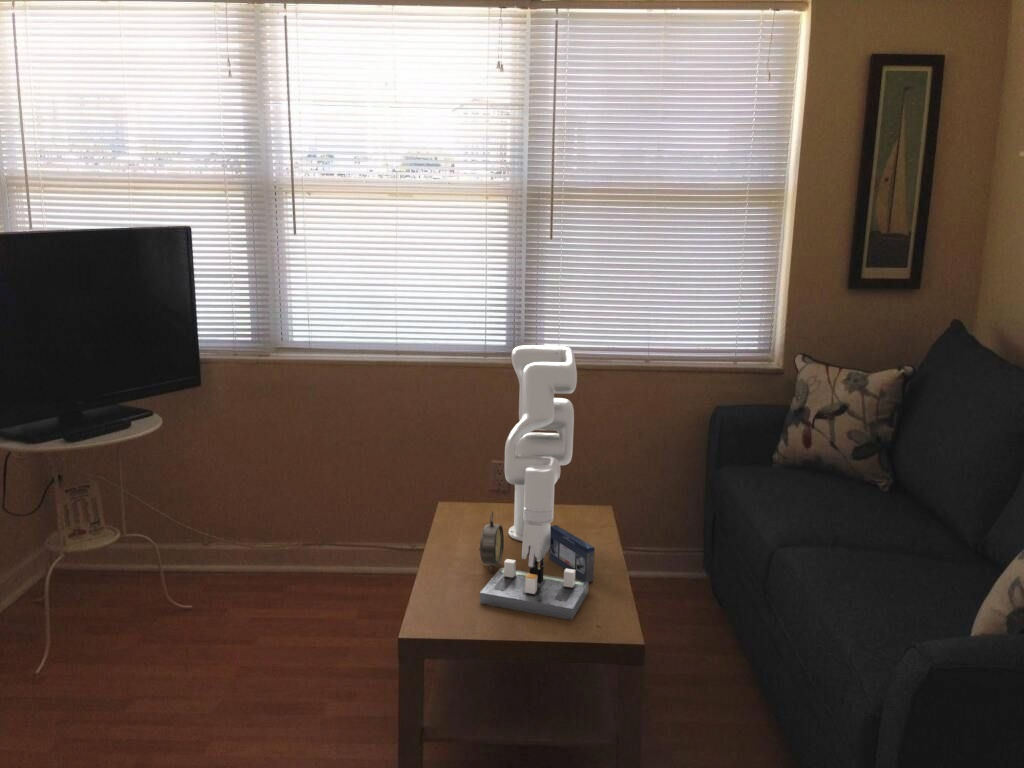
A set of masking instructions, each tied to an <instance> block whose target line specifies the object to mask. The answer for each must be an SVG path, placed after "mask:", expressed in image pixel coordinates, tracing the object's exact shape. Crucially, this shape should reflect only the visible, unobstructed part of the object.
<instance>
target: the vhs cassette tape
mask: <svg viewBox="0 0 1024 768" xmlns="http://www.w3.org/2000/svg"><path fill="white" fill-rule="evenodd" d="M550 527H551V535H550V548H549V550H548V559H549V560H550V561H551V562H553V563H554V564H556V565H557V566H559V567H560V568H562V569H563V570H565V569H566V568H567V569H573V570H575V578H577V580H578V579H579V581H585V582H590V583H593V582H594V570H595V568H594V567H595V547H594V546H592V545H591V544H590V543H587V542H586V541H584V540H583V539H581V538H579V537H578V536H575V535H574V534H573V533H572V532H569V531H567V530H566V529H564V528H562V527H560V526H559V525H557V524H555V525H550Z"/></svg>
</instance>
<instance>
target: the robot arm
mask: <svg viewBox="0 0 1024 768" xmlns="http://www.w3.org/2000/svg"><path fill="white" fill-rule="evenodd" d="M511 364H512V367H513V369H514V371H515V374H516V376H517V379H518V384H519V397H518V399H519V401H518V420H519V421H518V422H517V423H516V424H514V426H513V428H512V429H511V430H510V432H509V434H508V436H507V439H506V441H505V446H504V477H505V480H506V482H507V483H509V484H511V485H514V507H513V508H514V511H513V512H514V513H513V514H514V515H513V516H514V517H513V525H512V526H510V527H509V528H508V535H509V537H510V538H511V539H514V540H516V541H520V542H522V544H521V545H522V546H521V559H522V560H523V561H524V560H526V559H527V558H528V566H527V567H528V568H529V572H530V574H535V575H537V583H538V584H541V583H542V581H543V575H544V568H545V567H544V564H545V556H546V555H547V553H549V548H550V535H551V527H550V526H551V524H552V523H553V521H554V511H555V509H554V506H555V485H556V483H558V480H559V479H560V476H561V466H566V465H569V464H570V463H571V461H572V459H573V458H572V457H573V453H574V452H573V448H574V427H575V426H574V425H575V423H574V422H575V410H574V405H573V403H572V402H571V401H570V400H569V399H567V398H563V397H555V394H556V395H558V394H559V395H561V394H562V395H563V394H564V395H565V394H566V395H568V394H569V395H571V394H572V393H573V392H575V390H576V388H577V383H578V372H577V371H578V370H577V365H576V357H575V353H574V351H573V349H572V348H571V347H569V346H562V345H533V344H532V345H531V344H530V345H527V344H526V345H518V346H516V347H514V348H513V349H512V351H511ZM534 431H536V432H534ZM537 431H538V432H537ZM539 431H540V432H539ZM541 431H556V432H541ZM528 556H529V557H528Z"/></svg>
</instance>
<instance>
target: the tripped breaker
mask: <svg viewBox="0 0 1024 768" xmlns="http://www.w3.org/2000/svg"><path fill="white" fill-rule="evenodd" d="M536 591H537V575H535V574H529V573H528V574H527V575H526V576H525V592H526V593H531V594H535V593H536Z"/></svg>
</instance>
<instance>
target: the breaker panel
mask: <svg viewBox="0 0 1024 768" xmlns="http://www.w3.org/2000/svg"><path fill="white" fill-rule="evenodd" d="M528 573H529V574H530V571H523V570H518V569H516V574H515V576H514V577H513V578H512V577H506V576H504V567H499V569H498V571H497V572H495V574H494V575H493V577H492V578H491V579H489V581H488V582H487V584H486V585H485V586H484V587H483V588H482V589H481V590H480V592H479V604H480V605H485V604H487V605H486V606H490V605H493V606H492V607H496V606H497V608H501V607H502V609H507V608H508V609H507V610H512V611H519V612H524V613H525V612H526V613H530V614H536V615H541V616H548V617H553V618H559V619H564V620H570V621H573V619H574V618H575V616H576V614H577V613H578V611H579V609H580V607H581V606H582V604H583V602H584V600H585V599H586V597H587V596H588V594H589V582H585V581H581V580H580V579H579V580H578V579H575V585H574V587H573V588H572V587H566V586H563V582H564V577H560V576H559V577H558V576H554V575H547V574H543V581H542V583H541V584H538V583H537V591H536V593H535V594H531V593H526V592H525V576H526V575H527V574H528Z"/></svg>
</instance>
